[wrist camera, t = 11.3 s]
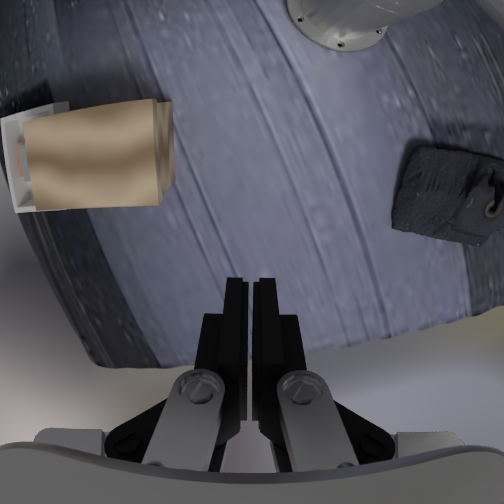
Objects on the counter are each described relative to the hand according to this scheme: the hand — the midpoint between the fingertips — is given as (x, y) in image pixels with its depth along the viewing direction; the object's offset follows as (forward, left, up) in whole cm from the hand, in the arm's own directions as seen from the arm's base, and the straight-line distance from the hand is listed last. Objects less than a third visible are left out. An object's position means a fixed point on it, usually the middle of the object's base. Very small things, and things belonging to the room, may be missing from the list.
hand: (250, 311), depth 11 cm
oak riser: (-2, -18, -29) cm, 34 cm away
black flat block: (+3, +30, -30) cm, 43 cm away
